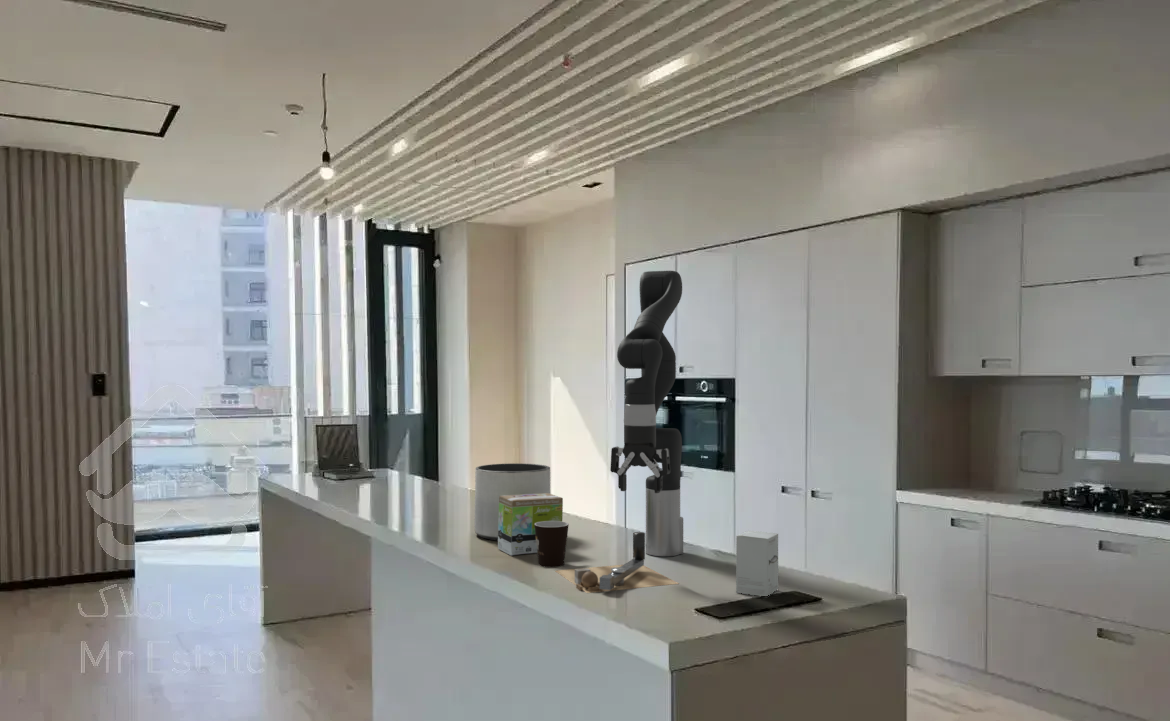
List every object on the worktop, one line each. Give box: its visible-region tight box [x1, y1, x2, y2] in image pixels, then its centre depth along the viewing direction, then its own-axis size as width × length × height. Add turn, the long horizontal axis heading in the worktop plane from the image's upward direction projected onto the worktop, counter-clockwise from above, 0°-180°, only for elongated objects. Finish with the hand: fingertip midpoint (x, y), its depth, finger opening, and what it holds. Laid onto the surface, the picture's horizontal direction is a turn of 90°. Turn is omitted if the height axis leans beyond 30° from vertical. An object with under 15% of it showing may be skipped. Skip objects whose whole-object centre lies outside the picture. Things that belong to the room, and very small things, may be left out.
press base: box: [554, 564, 680, 594], centre depth 185 cm, size 23×21×4 cm
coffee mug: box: [534, 521, 570, 568], centre depth 205 cm, size 12×9×10 cm
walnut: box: [582, 571, 598, 588], centre depth 176 cm, size 4×4×4 cm
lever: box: [600, 531, 646, 590], centre depth 182 cm, size 24×3×8 cm, turn 157°
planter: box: [473, 462, 551, 542], centre depth 241 cm, size 23×23×20 cm
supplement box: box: [735, 530, 779, 597], centre depth 178 cm, size 7×7×13 cm
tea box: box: [497, 493, 564, 556], centre depth 220 cm, size 15×10×15 cm, turn 117°
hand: (640, 491), depth 192 cm, fingers open, 8 cm apart
